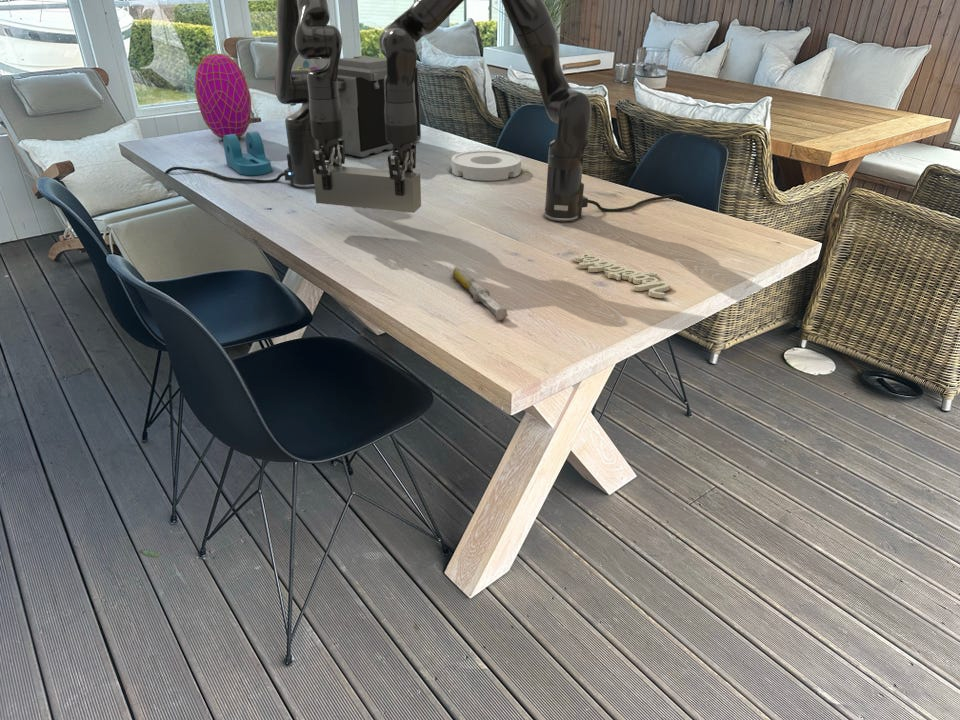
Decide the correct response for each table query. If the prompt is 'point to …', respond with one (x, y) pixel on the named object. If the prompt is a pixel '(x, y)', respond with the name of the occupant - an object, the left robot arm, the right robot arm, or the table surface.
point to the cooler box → (366, 104)
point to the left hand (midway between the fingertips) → (332, 186)
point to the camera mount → (246, 154)
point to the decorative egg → (223, 95)
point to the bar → (368, 189)
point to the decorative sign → (625, 274)
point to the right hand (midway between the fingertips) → (404, 191)
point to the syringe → (479, 293)
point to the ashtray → (486, 165)
